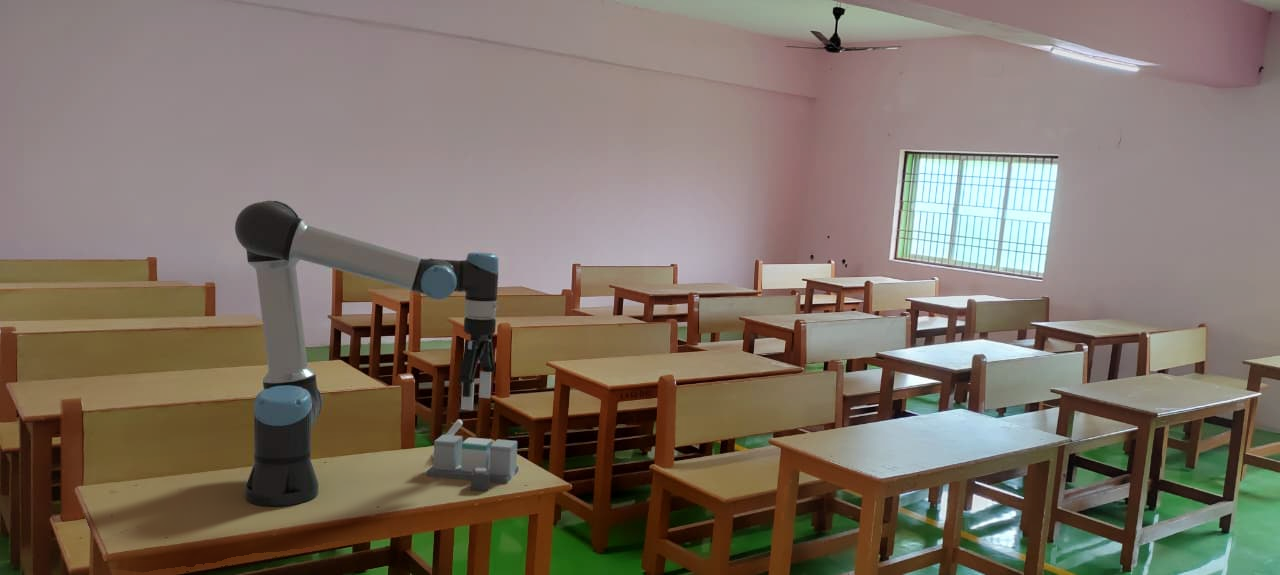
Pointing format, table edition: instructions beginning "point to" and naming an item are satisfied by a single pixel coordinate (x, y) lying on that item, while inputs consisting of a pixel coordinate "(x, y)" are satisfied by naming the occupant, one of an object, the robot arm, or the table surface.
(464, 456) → the block
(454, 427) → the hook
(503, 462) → the rail board
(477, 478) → the block
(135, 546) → the table surface
